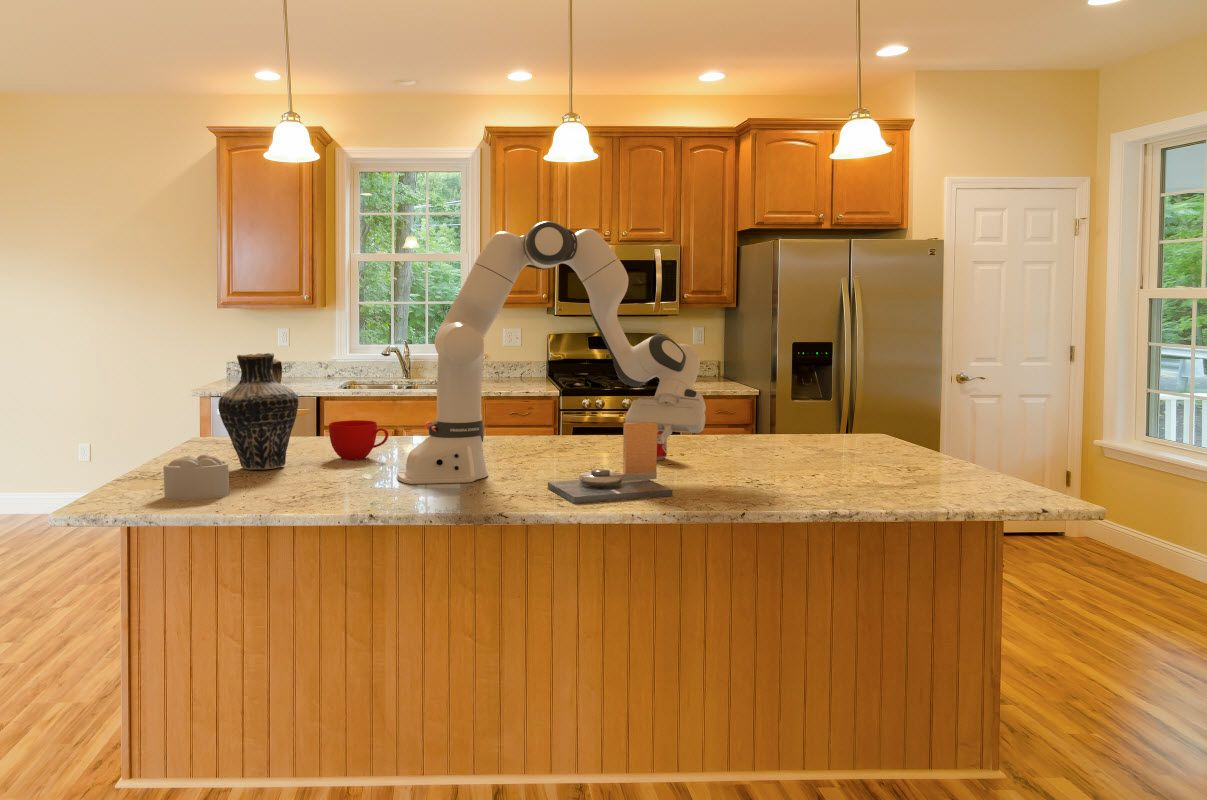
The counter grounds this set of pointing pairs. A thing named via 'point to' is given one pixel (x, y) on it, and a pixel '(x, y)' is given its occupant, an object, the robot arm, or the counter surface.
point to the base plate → (609, 491)
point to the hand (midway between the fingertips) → (657, 442)
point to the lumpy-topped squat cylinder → (196, 478)
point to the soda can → (661, 449)
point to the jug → (259, 413)
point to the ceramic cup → (354, 438)
